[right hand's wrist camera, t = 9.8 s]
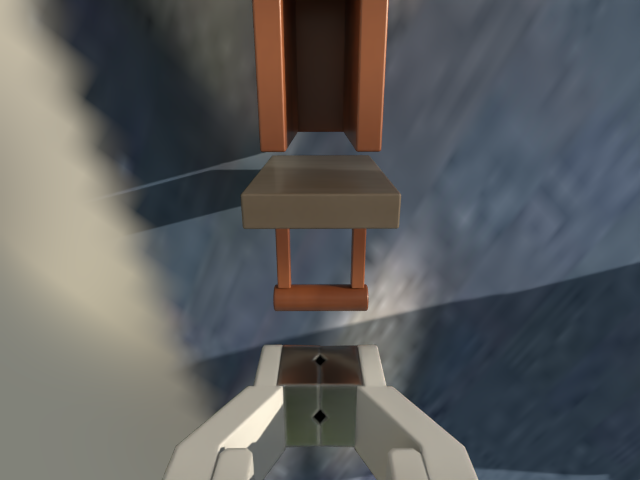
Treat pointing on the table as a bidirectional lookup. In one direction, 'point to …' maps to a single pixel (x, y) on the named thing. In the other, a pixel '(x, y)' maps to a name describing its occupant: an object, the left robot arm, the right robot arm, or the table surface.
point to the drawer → (320, 116)
